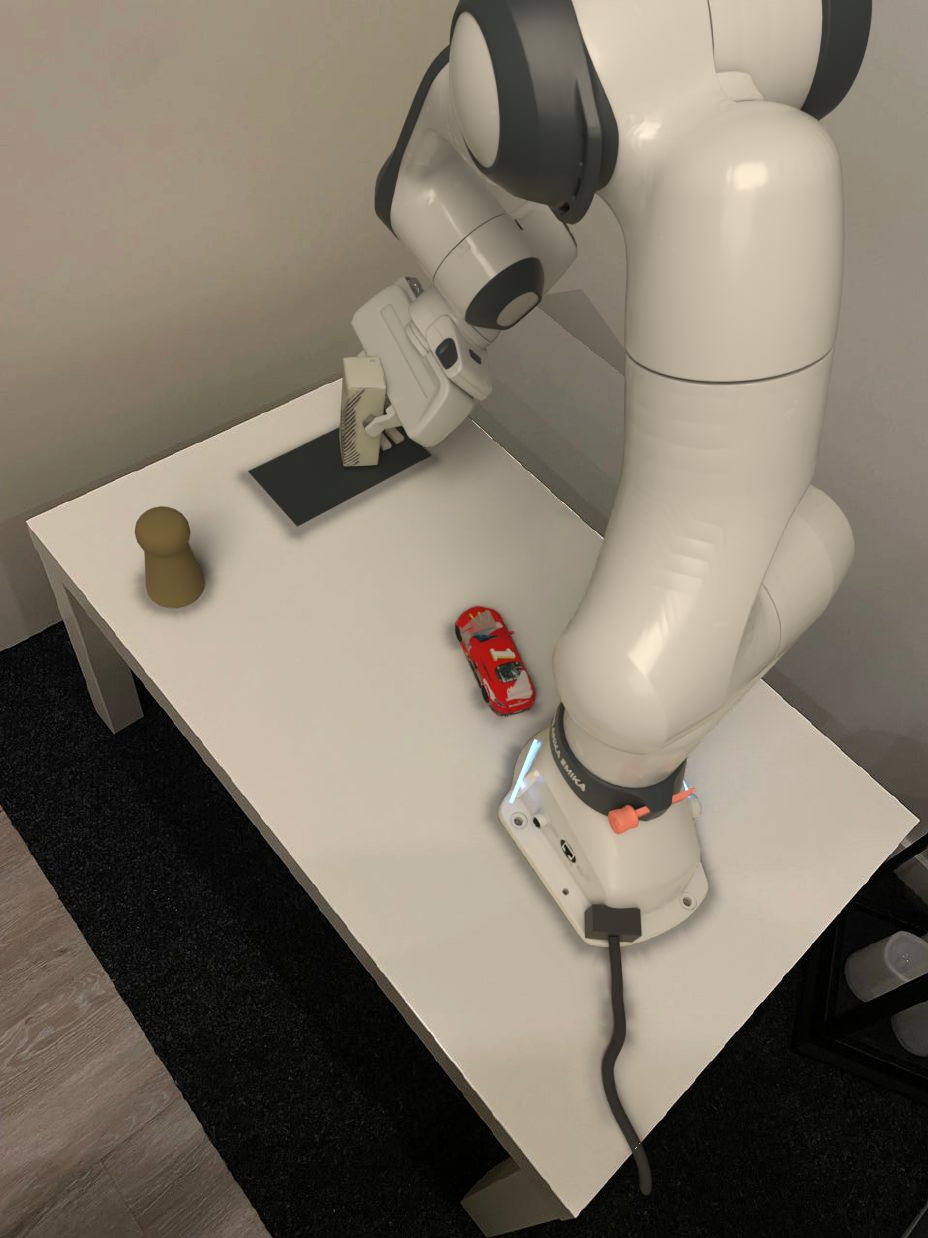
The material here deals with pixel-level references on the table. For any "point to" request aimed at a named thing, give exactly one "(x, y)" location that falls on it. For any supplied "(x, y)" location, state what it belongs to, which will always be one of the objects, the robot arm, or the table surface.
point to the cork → (168, 558)
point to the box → (361, 409)
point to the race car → (495, 661)
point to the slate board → (329, 474)
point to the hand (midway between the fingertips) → (357, 410)
